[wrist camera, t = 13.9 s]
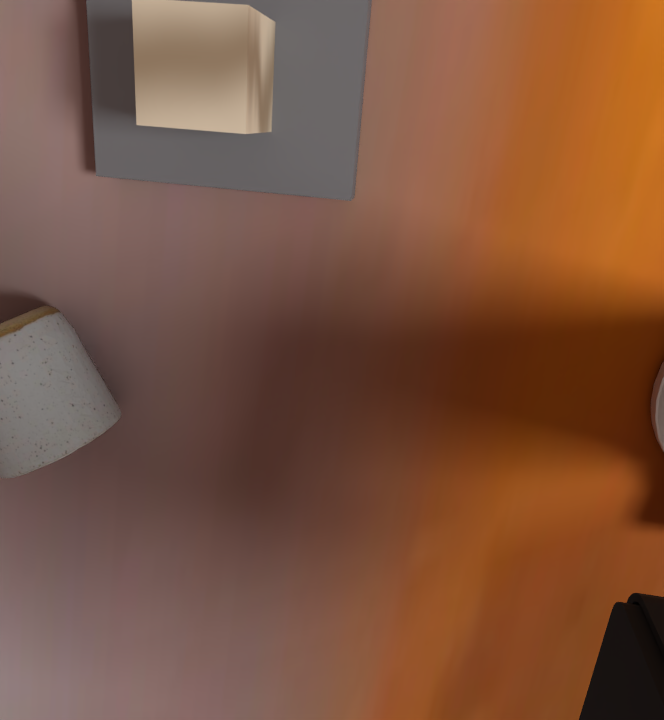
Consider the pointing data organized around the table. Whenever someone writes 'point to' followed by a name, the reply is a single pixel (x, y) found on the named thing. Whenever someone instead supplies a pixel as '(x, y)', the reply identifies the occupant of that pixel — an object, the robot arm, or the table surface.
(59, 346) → the ceramic mug
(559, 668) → the table surface
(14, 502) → the table surface
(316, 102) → the serving board
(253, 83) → the beech cube
